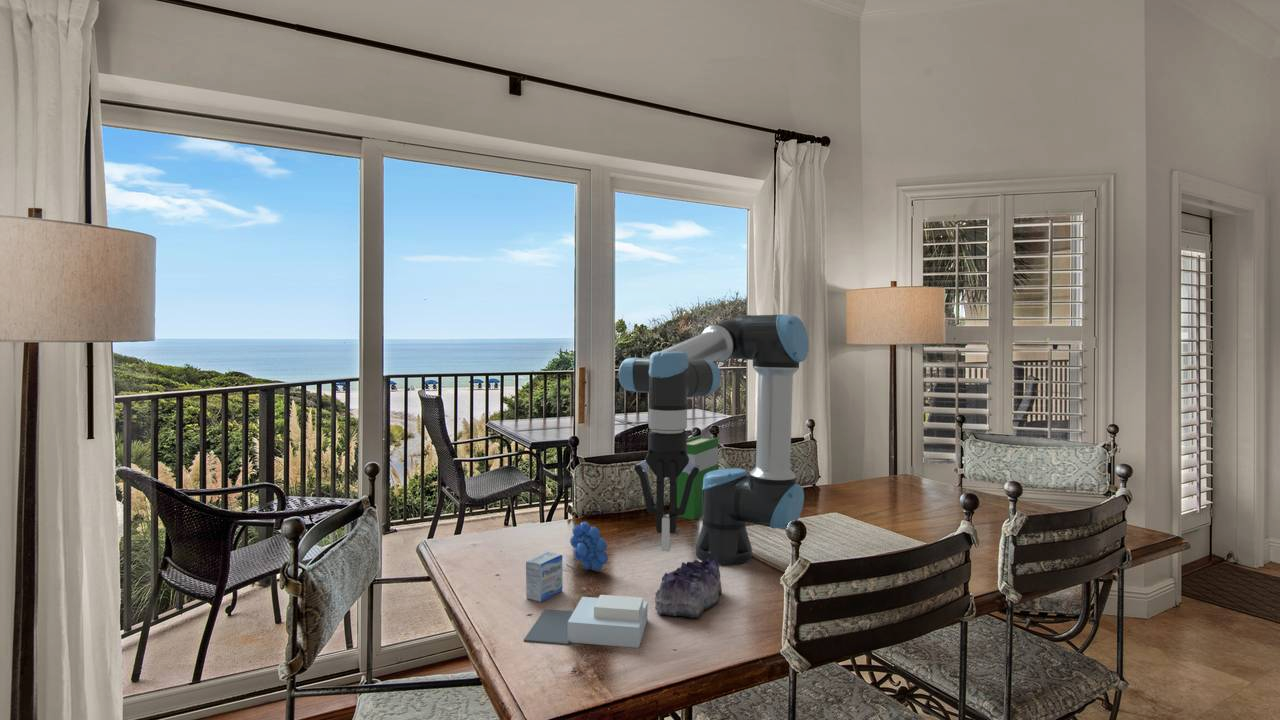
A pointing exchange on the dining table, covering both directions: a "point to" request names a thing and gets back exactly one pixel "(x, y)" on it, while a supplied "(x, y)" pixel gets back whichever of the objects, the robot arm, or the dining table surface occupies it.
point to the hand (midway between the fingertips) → (666, 548)
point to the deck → (604, 627)
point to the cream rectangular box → (618, 607)
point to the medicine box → (544, 576)
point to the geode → (689, 589)
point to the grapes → (589, 546)
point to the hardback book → (707, 460)
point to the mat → (550, 627)
